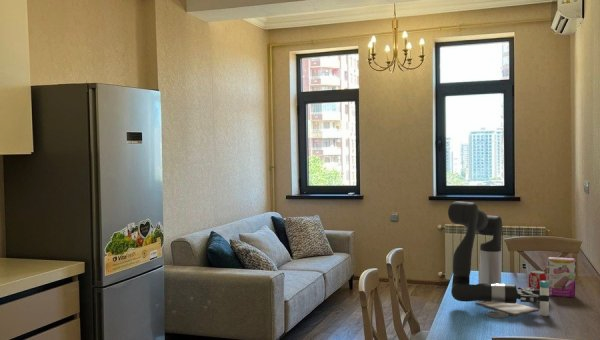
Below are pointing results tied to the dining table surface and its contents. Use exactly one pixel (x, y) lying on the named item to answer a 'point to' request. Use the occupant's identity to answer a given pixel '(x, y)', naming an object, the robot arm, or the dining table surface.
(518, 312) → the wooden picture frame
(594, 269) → the dining table surface
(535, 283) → the soda can
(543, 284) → the marker
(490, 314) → the coaster
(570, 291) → the candy bar box
